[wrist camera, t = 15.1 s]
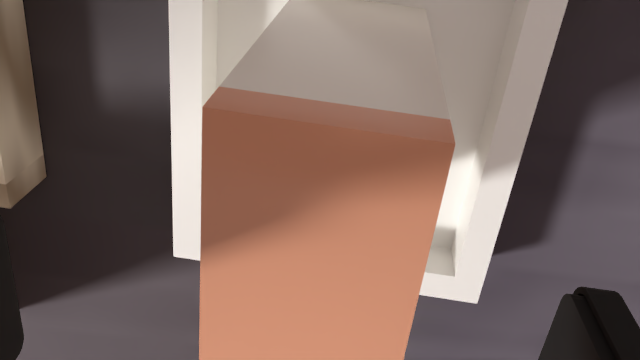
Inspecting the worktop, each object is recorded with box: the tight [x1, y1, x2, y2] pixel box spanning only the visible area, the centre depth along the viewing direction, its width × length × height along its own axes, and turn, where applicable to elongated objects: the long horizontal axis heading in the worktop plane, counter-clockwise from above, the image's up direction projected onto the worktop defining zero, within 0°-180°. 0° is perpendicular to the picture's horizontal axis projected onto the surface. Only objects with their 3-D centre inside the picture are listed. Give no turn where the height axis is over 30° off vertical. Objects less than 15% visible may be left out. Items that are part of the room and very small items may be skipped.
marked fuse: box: [199, 0, 455, 360], centre depth 15 cm, size 6×4×10 cm, turn 174°
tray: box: [169, 0, 568, 304], centre depth 19 cm, size 13×11×2 cm
